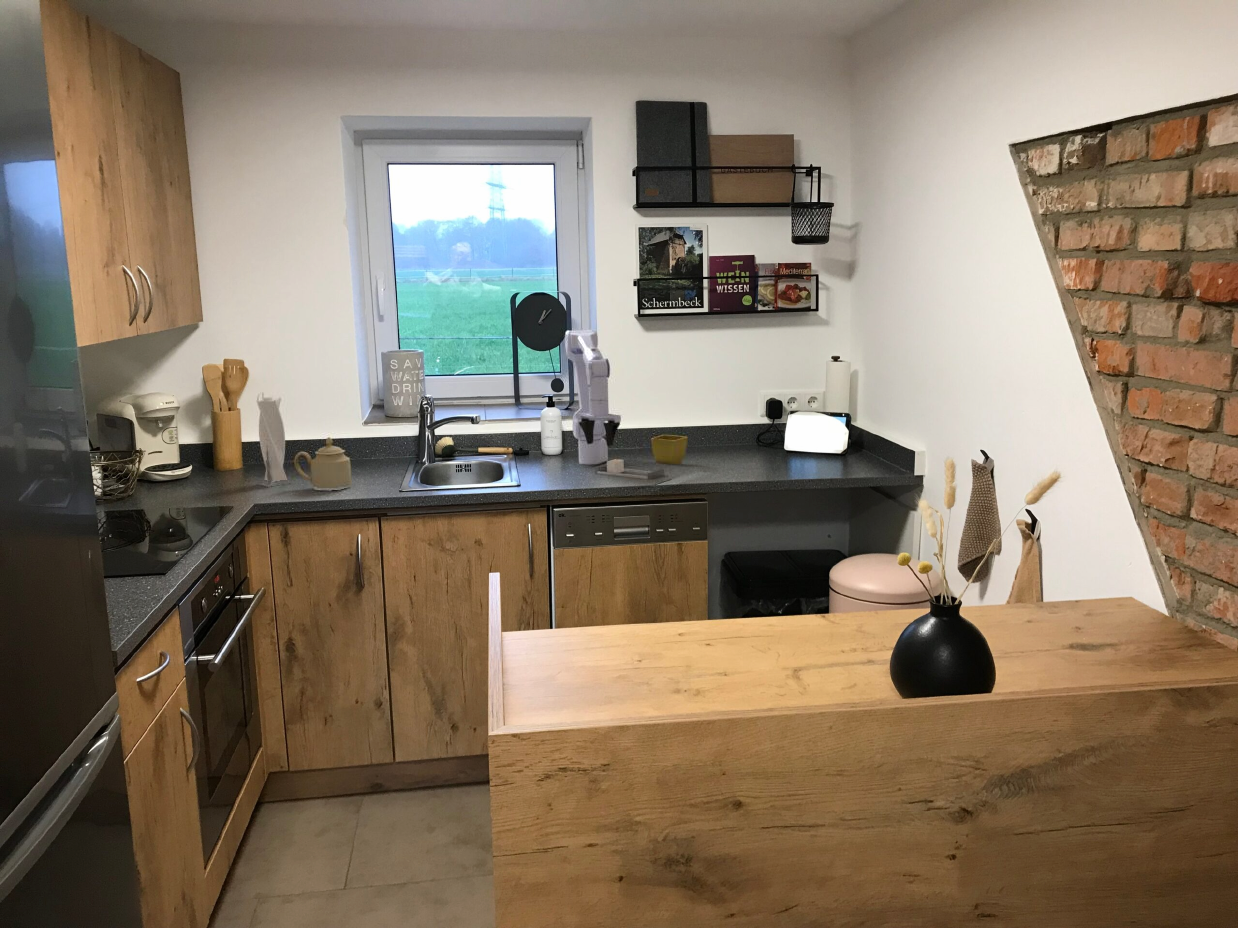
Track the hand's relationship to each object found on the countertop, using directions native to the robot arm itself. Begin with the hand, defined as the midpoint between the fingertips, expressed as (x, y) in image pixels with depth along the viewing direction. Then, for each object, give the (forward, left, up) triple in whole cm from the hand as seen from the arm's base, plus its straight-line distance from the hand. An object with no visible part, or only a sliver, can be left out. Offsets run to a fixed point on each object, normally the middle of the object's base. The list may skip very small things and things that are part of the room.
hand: (599, 444), depth 291 cm
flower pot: (-24, +9, -10) cm, 28 cm away
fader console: (0, +10, -9) cm, 14 cm away
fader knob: (0, +5, -8) cm, 10 cm away
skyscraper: (+58, -80, -10) cm, 99 cm away
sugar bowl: (+55, -60, -10) cm, 82 cm away
